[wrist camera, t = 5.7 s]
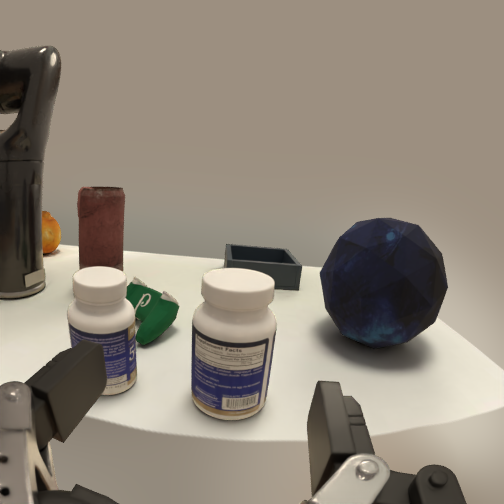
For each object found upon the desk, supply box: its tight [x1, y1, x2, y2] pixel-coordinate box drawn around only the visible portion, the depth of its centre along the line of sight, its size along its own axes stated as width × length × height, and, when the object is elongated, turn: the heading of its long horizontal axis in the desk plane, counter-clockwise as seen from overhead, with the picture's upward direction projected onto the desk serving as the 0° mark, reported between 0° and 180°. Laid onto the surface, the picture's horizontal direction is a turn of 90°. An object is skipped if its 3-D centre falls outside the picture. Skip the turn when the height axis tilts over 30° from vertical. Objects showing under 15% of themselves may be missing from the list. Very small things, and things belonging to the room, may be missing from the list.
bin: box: [224, 244, 302, 290], centre depth 55 cm, size 12×12×4 cm
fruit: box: [42, 211, 61, 253], centre depth 52 cm, size 8×8×8 cm
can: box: [77, 187, 125, 272], centre depth 39 cm, size 6×6×14 cm
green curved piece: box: [125, 277, 179, 345], centre depth 33 cm, size 9×4×6 cm
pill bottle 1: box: [67, 266, 137, 395], centre depth 22 cm, size 5×5×9 cm
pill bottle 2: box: [191, 268, 277, 420], centre depth 22 cm, size 6×6×10 cm
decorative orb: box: [320, 218, 448, 349], centre depth 34 cm, size 14×15×15 cm
